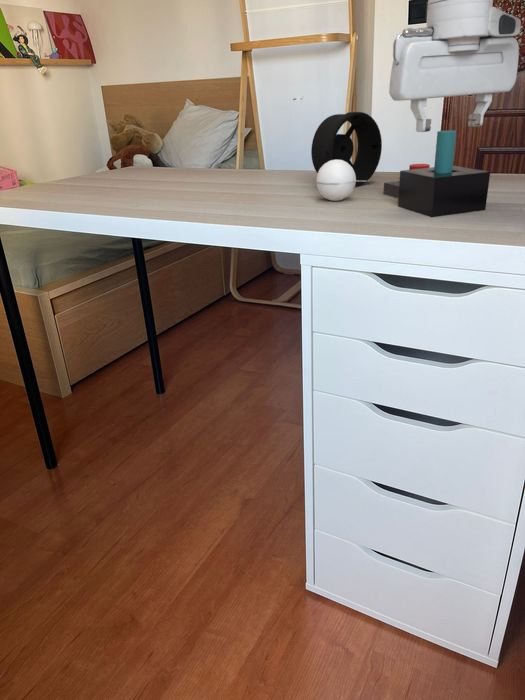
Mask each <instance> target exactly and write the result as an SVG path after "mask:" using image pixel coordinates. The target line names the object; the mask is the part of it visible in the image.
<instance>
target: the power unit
mask: <svg viewBox="0 0 525 700" xmlns="http://www.w3.org/2000/svg"><path fill="white" fill-rule="evenodd" d="M399 182H400V180H396V181H395V180H394V181H387V182H384V183H383V191H382V192H383V193H382V194H383V195H386V196H389V197H392V198H396V199H399Z"/></svg>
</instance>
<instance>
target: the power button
mask: <svg viewBox="0 0 525 700" xmlns="http://www.w3.org/2000/svg"><path fill="white" fill-rule="evenodd" d="M408 166H409V168H408V170H412V169H422V168H431V167H430V164H428V163H413V164H409V165H408Z"/></svg>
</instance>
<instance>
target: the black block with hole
mask: <svg viewBox="0 0 525 700" xmlns="http://www.w3.org/2000/svg"><path fill="white" fill-rule="evenodd" d="M490 178H491V171H487V170H483V169H477V168H476V169H475V168H469V167H464V166H457V165H453V168H452V172H451V173H442V174H440V173H435V172H434V166H433V167H429V168H422V169H412V170H409V169H404V170H400V171H399V181H400V182H399V198H397V199H398V200H397V207H398V208H401V209H404V210H407V211H411V212H413V213H416V214H419V215H422V216H426V217H429V218H437V217H444V216H452V215H459V214H468V213H475V212H483V211H486V208H487V200H488V193H489V187H490Z"/></svg>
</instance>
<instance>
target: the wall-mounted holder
mask: <svg viewBox="0 0 525 700" xmlns="http://www.w3.org/2000/svg"><path fill="white" fill-rule="evenodd" d="M345 123H350V126H349V128H348V129H347V131H346V132H345V133H338V132H339V130H340V129H341V127H342V126H343V125H344V124H345ZM354 131H355V135H356V140H357V141H356V142H357V152H356V156H355V159H354V162H353V163H352V161H351V159H352V158H353V157H352V156H353V154H354V149H355V148H354V147H355V146H354V142H353V139H352V137H351V136H352V135H353V132H354ZM381 134H382V133H381V131H380V128H379V125H378V123H377V121H376V120H375V119H374V118H373V116H371V115H370V114H368V113H366V112H363V111H350V112H347V113H338V114H337V113H336V114H332V115H330V116H328V117H326V118H325V119H324V120H322V121H321V123H320V124H319V125H318V127H317V129H316V130H315V132H314V134H313V135H314V136H313V138H312V142H311V150H310V151H311V153H310V154H311V161H312V165H313V168H314V170H315V172H316V173H317V174H318V172H319V169H320V168H321V167H322V166H323V165H324V164H325V163H327V162H329V161H330V160H343V161H345V162H347V163H348V164H349V165H350V166H351V167H352V168H353V170H354V172H355V175H356V183H355V187H354V188H358V187H360V186H362V185H364V184H365V183H367V182H368V181H369V180H370V179H371V178H372V177H373V175H374V174H375V172H376V170H377V168H378V166H379V164H380V161H381V156H382V150H383V148H382V147H383V141H382V135H381ZM317 174H316V175H317Z"/></svg>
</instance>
